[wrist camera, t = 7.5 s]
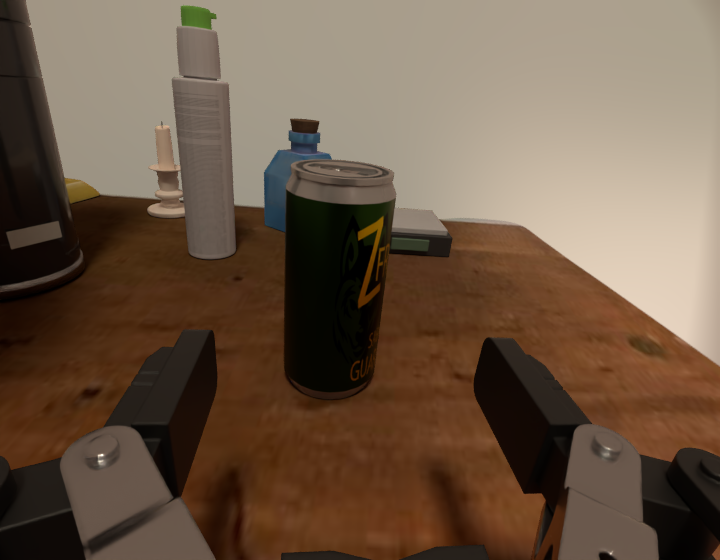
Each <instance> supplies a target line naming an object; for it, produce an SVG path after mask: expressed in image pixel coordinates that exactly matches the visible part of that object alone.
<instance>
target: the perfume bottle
mask: <svg viewBox="0 0 720 560" xmlns="http://www.w3.org/2000/svg"><path fill="white" fill-rule="evenodd" d="M290 120H291V126H292V130H291V131H289V141H291V149H290V150H278V152H277V153H276V155H275V156H274V158H273V159H272V161H271V163H270V164H269V166H268V167H267V169H266V170H265V172H264V195H265V198H264V199H265V225H266V226H269V227H272V228H275V229H278V230H280V231H283V232H285V194H286V184H287V182H288V180H289V178H290V176H291V174H292V173H291V164H292V163H294V162H297V161H302V160H313V159H329V160H332V159H331V156H330V155H329V154H327V153H323V152H318V151H317V143H320V133H317V130H318V125H319V121H315V120H307V119H290Z"/></svg>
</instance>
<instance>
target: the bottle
mask: <svg viewBox="0 0 720 560" xmlns="http://www.w3.org/2000/svg"><path fill="white" fill-rule="evenodd" d="M211 19H216V14H213V13H210V11H209V10H208V9H205V8H201V7H195V6H181V20H182V26H178V27H177V51H178V64H179V74H180V75H182V76H184V77H174V78H172V87H173V97H174V107H175V117H176V127H177V138H178V148H179V157H180V169H181V179H182V188H183V199H184V209H185V219H186V230H187V240H188V250H189V253H190V254H191V255H192V256H194V257H196V258H201V259H220V258H225V257H228V256H231V255H232V254H234V253H235V251H236V239H235V216H234V195H233V172H232V150H231V128H230V107H229V106H230V105H229V85H228V83H227V82H222V81H217V79H220V78H221V75H220V58H219V48H218V47H219V46H218V38H217V32H216V31H213V30H212V28H211Z"/></svg>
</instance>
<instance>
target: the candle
mask: <svg viewBox="0 0 720 560" xmlns="http://www.w3.org/2000/svg"><path fill="white" fill-rule="evenodd" d="M155 133H156V145H157V155H158V164H157V165H151V166H149V167H148V168H149V169H151V170H154V171H156V172H157V175H158V177H159V178H158V184H159V187H160V190H157V191H156V192H155V196H156V197H158V198H161V199H162V201H161V202H162V203H158V204H154V205H151V206H149V207H148V213H149V214H150V215H152V216H154V217H160V218H179V217H185V209H184V203H180V201H179V198H181V197H183V191H182V190H179V189H178V186H179V181H178V178H177V176H178V171H181V169H180V165H174V158H173V150H172V142H171V136H170V129H169V126H166V125H163V124H162V122H161V126H157V127H155Z"/></svg>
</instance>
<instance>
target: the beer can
mask: <svg viewBox="0 0 720 560" xmlns="http://www.w3.org/2000/svg"><path fill="white" fill-rule="evenodd" d="M291 173H292V174H291V176H290V178H289V180H288V182H287V184H286V194H285V300H284V368H285V371H286V373H287V374H288V376H289V378H290V380H291V381H292V383H293V384H294V386H295V387H296V388H297V389H299V390H300V391H301V392H303V393H304V394H307V395H310V396H312V397H315V398H321V399H328V400H329V399H341V398H345V397H348V396H351V395H354V394H355V393H357V392H358V391H360V390H361V389H362V388H363V387H364V386H365V384H366V383H367V382H368V380H369V379H370V377H371V376H372V374H373V373H374V367H375V359H376V351H377V343H378V335H379V327H380V319H381V311H382V304H383V296H384V288H385V280H386V272H387V264H388V256H389V248H390V240H391V232H392V224H393V216H394V208H395V200H396V192H395V189H394V186H393V183H392V181H393V177H394V172H393V171H391V170H390V169H387V168H384V167H381V166H376V165H372V164H367V163H361V162H354V161H345V160H329V159H313V160H302V161H297V162H294V163H292V164H291Z"/></svg>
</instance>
